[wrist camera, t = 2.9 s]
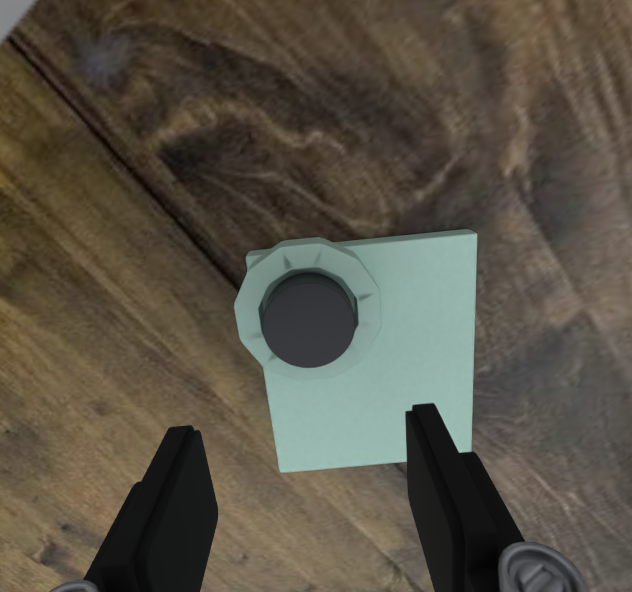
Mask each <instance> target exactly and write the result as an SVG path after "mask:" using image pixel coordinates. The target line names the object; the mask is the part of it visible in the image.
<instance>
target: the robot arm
mask: <svg viewBox="0 0 632 592" xmlns="http://www.w3.org/2000/svg"><path fill="white" fill-rule="evenodd" d="M405 423H406V452H407V482H408V496H409V502H410V506H411V509H412V513H413V517H414V520H415V524H416V527H417V531H418V534H419V538H420V541H421V545H422V548H423V552H424V555H425V559H426V562H427V566H428V569H429V573H430V576H431V580H432V583H433V587H434V590H435V592H588V588H587V585H586V583H585V581H584V579H583V577H582V574H581V573H580V571H579V570H578V569H577V568H576V567H575V565H574V564H573V563H572V562H571V561H570V560H569V559H567V558H566V557H565V556H564V555H562V554H561V553H560V552H558V551H556V550H554V549H552V548H550V547H548V546H546V545H542V544H539V543H535V542H525V540H524V538H523V537H522V535H521V533H520V531H519V529H518V528H517V526H516V524H515V522H514V520H513V518H512V517H511V515H510V513H509V511H508V509H507V508H506V506H505V504H504V502H503V500H502V499H501V497H500V495H499V493H498V491H497V490H496V488H495V486H494V484H493V482H492V480H491V479H490V477H489V475H488V473H487V471H486V470H485V468H484V466H483V464H482V462H481V461H480V459H479V457H478V456H477V454H476V453H475V452H473V451H472V452H461V453H459V452H458V450H457V448H456V446H455V444H454V442H453V439H452V437H451V435H450V433H449V431H448V429H447V427H446V425H445V423H444V421H443V419H442V417H441V415H440V413H439V411H438V409H437V407H436V405H435V404H434V403H425V404H415V405H413V406H412V410H411V411H406V412H405ZM217 521H218V506H217V502H216V497H215V493H214V489H213V484H212V480H211V475H210V471H209V467H208V462H207V458H206V453H205V449H204V445H203V440H202V436H201V432H200V431H199V430H195V431H194V428H193V427H192V426H191V425H189V426H178V427H170V428H169V429H168V430H167V432H166V434H165V436H164V438H163V440H162V442H161V444H160V446H159V448H158V450H157V452H156V454H155V456H154V458H153V460H152V462H151V464H150V466H149V468H148V470H147V472H146V473H145V475H144V477H143V479H142V481H141V482H137V483H136V484H134V486H133V487H132V489H131V491H130V492H129V494H128V496H127V498H126V500H125V502H124V504H123V506H122V508H121V509H120V511H119V513H118V515H117V517H116V519H115V521H114V523H113V525H112V526H111V528H110V530H109V532H108V534H107V536H106V538H105V540H104V542H103V543H102V545H101V547H100V549H99V551H98V553H97V555H96V557H95V559H94V560H93V562H92V564H91V566H90V568H89V570H88V572H87V574H86V576H85V577H84V579H83V580H75V581H71V582H67V583H64V584H62V585H60V586H58V587H56V588H54V589H52V590H51V591H49V592H200V589H201V585H202V581H203V577H204V573H205V569H206V565H207V561H208V557H209V553H210V549H211V545H212V541H213V537H214V533H215V529H216V525H217Z"/></svg>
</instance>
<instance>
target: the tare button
mask: <svg viewBox="0 0 632 592" xmlns="http://www.w3.org/2000/svg"><path fill="white" fill-rule="evenodd" d="M262 331H263V336H264V339H265V341H266V343H267V345H268V347H269V348H270V350H271V351H272V352H273V353H274V354H275V355H276V356H277V357H278V358H279V359H281V360H282V361H284V362H286V363H288V364H290V365H293V366H296V367H301V368H316V367H321V366H324V365H327V364H329V363H331V362H333V361H335V360H336V359H338V358H339V357H340V356H341V355H342V354H343V353H344V352H345V351H346V350H347V349H348V347H349V345H350V344H351V342H352V339H353V336H354V332H355V318H354V314H353V310H352V306H351V303H350V299H349V297H348V295H347V293H346V292H345V290H344V289H343V288H342V287H341V286H340V285H339V284H338V283H337V282H336V281H334V280H333V279H331V278H329V277H327V276H325V275H322V274H317V273H300V274H296V275H293V276H290V277H288V278H286V279H285V280H283V281H282V282H280V283H279V284H278V285H277V286H276V287H275V288H274V290H273V291H272V292H271V294H270V296H269V298H268V301H267V304H266V307H265V311H264V314H263V319H262Z"/></svg>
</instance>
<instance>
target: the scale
mask: <svg viewBox="0 0 632 592" xmlns="http://www.w3.org/2000/svg"><path fill="white" fill-rule="evenodd" d="M476 263H477V233H475V232H473V231H471V230H469V229H461V230H451V231H441V232H432V233H422V234H412V235H402V236H392V237H382V238H372V239H362V240H352V241H342V242H331V241H329V240H326V239H324V238H320V237H314V238H304V239H294V240H284V241H281V242H280V243H278V244H277V245H275V246H274V247H273V248H271V249H263V250H253V251H249V252H248V254H247V256H246V264H247V274H246V276H245V279H244V281H243V284H242V286H241V288H240V291H239V293H238V296H237V298H236V300H235V303H234V309H235V315H236V321H237V327H238V332H239V338H240V340H241V342H242V343H243V344H244V345H245V347H246V348H247V349H248V350H249V351H250V352H251V354H252V355H253V356H254V357H255V358H256V359H257V361H258V362H259V363H260V364H261V365H262V366H263V371H264V377H265V384H266V390H267V396H268V402H269V409H270V415H271V421H272V428H273V434H274V440H275V446H276V453H277V459H278V465H279V471H280V473H286V472H297V471H308V470H319V469H330V468H341V467H352V466H363V465H374V464H385V463H396V462H407V452H406V423H405V412H406V411H411V410H412V406H413V405H415V404H425V403H434V404H435V405H436V407H437V409H438V411H439V413H440V415H441V417H442V419H443V421H444V423H445V425H446V427H447V429H448V431H449V433H450V435H451V437H452V439H453V442H454V444H455V446H456V448H457V450H458V452H459V453H461V452H471V441H472V405H473V370H474V334H475V299H476ZM300 273H317V274H322V275H325V276H327V277H329V278H331V279H333V280H334V281H336V282H337V283H338V284H339V285H340V286H341V287H342V288H343V289H344V290H345V292H346V293H347V295H348V297H349V299H350V303H351V306H352V310H353V314H354V318H355V332H354V336H353V339H352V342H351V344H350V345H349V347H348V349H347V350H346V351H345V352H344V353H343V354H342V355H341V356H340V357H339V358H338V359H336V360H335V361H333V362H331V363H329V364H327V365H324V366H321V367H316V368H301V367H296V366H293V365H290V364H288V363H286V362H284V361H282V360H281V359H279V358H278V357H277V356H276V355H275V354H274V353H273V352H272V351H271V350H270V348H269V347H268V345H267V343H266V341H265V339H264V336H263V331H262V319H263V314H264V311H265V307H266V304H267V301H268V298H269V296H270V294H271V292H272V291H273V290H274V288H275V287H276V286H277V285H278V284H279V283H280V282H282V281H283V280H285V279H286V278H288V277H290V276H293V275H296V274H300Z"/></svg>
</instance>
